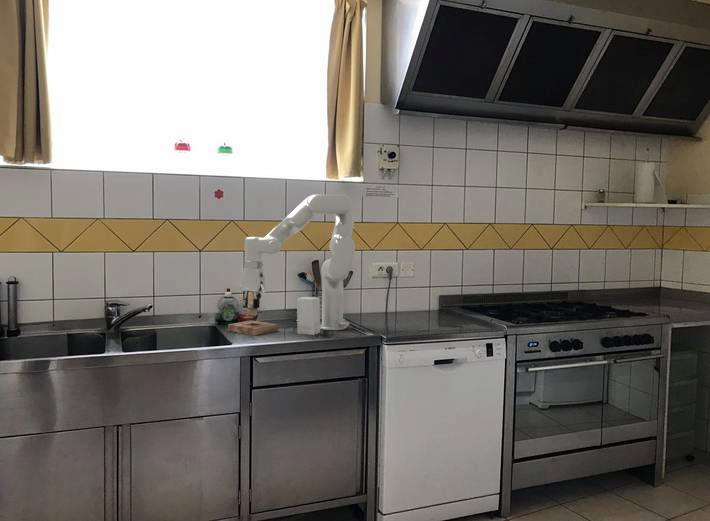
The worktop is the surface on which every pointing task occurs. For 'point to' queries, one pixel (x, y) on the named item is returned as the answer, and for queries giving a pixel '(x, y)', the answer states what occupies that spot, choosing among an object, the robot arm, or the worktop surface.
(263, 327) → the wooden square frame
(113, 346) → the worktop surface
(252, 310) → the beech peg
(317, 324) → the skincare box
